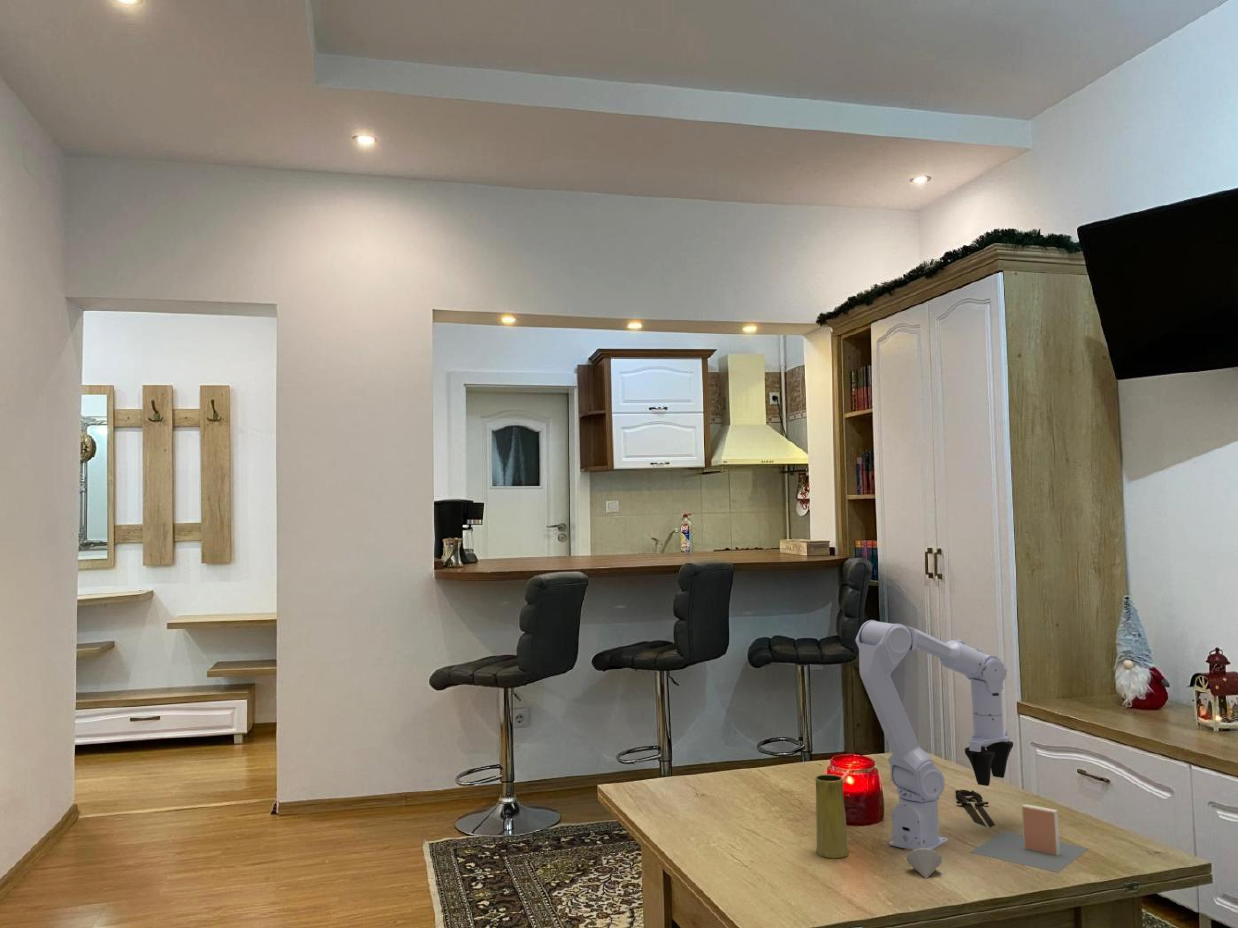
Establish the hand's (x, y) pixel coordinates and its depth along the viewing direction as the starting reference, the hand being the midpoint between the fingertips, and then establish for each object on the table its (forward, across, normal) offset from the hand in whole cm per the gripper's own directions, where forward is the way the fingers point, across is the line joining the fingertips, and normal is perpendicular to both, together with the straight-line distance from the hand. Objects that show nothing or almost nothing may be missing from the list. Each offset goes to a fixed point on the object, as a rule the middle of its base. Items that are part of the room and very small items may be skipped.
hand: (991, 780), depth 187 cm
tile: (+10, -7, -12) cm, 17 cm away
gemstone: (+10, -30, 0) cm, 32 cm away
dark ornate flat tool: (+10, +10, +8) cm, 17 cm away
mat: (+10, -8, -10) cm, 16 cm away
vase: (+10, -32, +18) cm, 38 cm away
